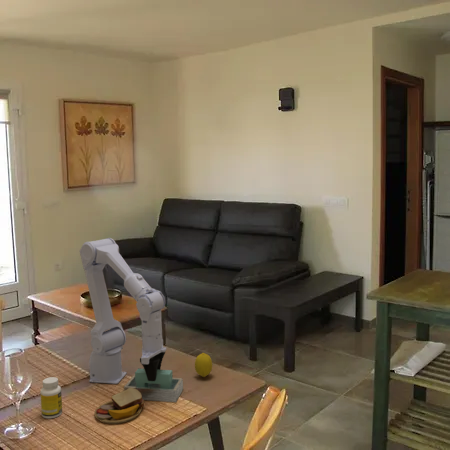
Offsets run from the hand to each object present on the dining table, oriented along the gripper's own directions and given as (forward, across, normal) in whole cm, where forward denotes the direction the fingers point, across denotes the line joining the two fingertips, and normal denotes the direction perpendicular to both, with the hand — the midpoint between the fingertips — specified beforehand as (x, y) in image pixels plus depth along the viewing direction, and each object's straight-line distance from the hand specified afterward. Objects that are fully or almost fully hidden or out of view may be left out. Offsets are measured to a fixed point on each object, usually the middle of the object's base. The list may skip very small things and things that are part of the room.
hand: (153, 378), depth 153 cm
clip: (+4, 0, 0) cm, 4 cm away
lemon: (+5, +14, -12) cm, 19 cm away
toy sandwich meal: (+5, -12, +6) cm, 14 cm away
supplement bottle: (+5, -16, +24) cm, 29 cm away
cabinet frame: (+5, 0, 0) cm, 5 cm away
